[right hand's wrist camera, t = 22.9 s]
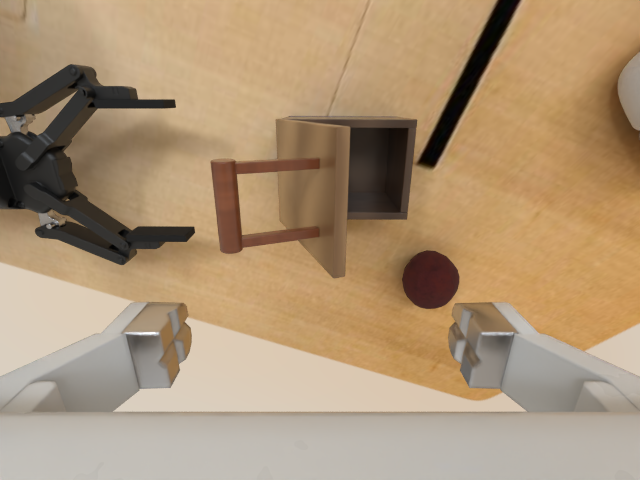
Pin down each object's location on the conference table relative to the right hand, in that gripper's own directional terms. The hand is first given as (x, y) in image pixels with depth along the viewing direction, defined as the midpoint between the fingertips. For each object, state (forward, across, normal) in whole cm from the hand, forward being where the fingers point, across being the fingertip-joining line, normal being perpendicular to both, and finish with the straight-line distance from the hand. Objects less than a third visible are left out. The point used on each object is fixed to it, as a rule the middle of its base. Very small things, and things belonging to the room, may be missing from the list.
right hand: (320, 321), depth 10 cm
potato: (+35, +15, -15) cm, 41 cm away
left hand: (+27, -14, 0) cm, 30 cm away
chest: (+35, +3, 0) cm, 35 cm away
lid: (+19, -1, 0) cm, 19 cm away
